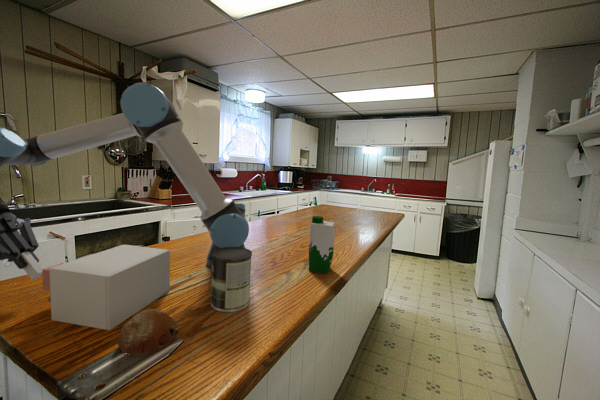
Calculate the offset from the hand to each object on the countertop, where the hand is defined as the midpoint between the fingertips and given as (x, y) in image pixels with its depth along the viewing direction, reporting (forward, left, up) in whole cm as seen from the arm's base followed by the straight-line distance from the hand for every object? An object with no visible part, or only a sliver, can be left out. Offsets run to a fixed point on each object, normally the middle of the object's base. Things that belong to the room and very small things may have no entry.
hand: (38, 275), depth 67 cm
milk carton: (-76, -26, -7) cm, 81 cm away
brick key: (-12, +3, -2) cm, 12 cm away
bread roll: (-33, +16, -7) cm, 38 cm away
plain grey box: (-19, +1, -7) cm, 20 cm away
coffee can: (-47, 0, -7) cm, 48 cm away
